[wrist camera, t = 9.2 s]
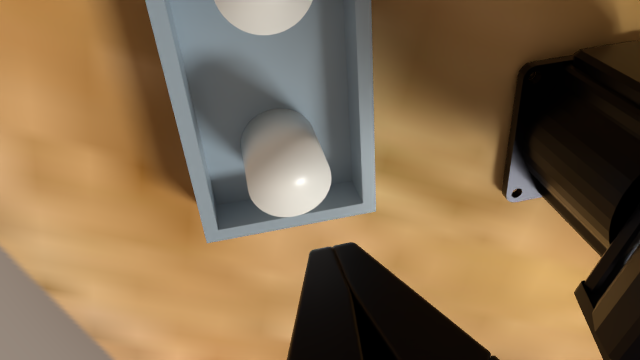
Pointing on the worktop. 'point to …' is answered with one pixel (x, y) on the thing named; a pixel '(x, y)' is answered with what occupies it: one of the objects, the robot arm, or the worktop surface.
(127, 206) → the worktop surface
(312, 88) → the tray
